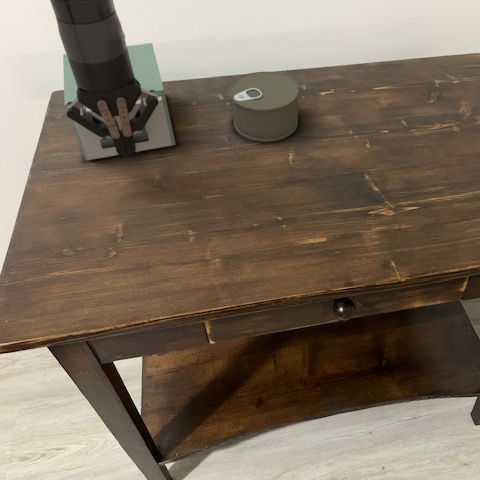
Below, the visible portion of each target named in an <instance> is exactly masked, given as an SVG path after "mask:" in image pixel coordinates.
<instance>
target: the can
mask: <svg viewBox="0 0 480 480" xmlns="http://www.w3.org/2000/svg"><path fill="white" fill-rule="evenodd" d="M228 94H229V98H230V101H231V111H232V117H233V127H234V129H235V131H236V132H237V133H238V134H239V135H240V136H241V137H243V138H244V139H247V140H250V141H253V142H259V143H271V142H277V141H280V140H283V139H285V138H287V137H289V136H291V135H292V134H293V133H295V131H296V130H297V127H298V125H299V119H298V118H299V109H298V108H299V94H300V89H299V85H298V83H297V82H296V81H295V80H294V79H293V78H292V77H290V76H288V75H286V74H283V73H279V72H275V71H255V72H250V73H246V74H243V75H241V76H240V77H238V78H236V79H235V80H234V81H233V82H232V83H231V84H230V86H229V90H228Z"/></svg>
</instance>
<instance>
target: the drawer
mask: <svg viewBox="0 0 480 480" xmlns="http://www.w3.org/2000/svg"><path fill="white" fill-rule="evenodd" d="M158 102H159V103H158V105H157V107H156V108H155V110H154V112H153V113H152V115H151V117H150V118H149V120H148V122H147V123H146V125H145V126H144V128H143V130H142V131H135V132H134V133H133V138H134V141H135V146H136V151H138V152H142V150H144V151H149V150H148V149H150V150H154V148H155V149H160V148H159V147H161V148H166V147H165V146H167V147H172V146H173V145H172V142H171V138H170V133H169V129H168V124H167V120H166V115H165V111H164V106H163V102H162V97H161V96H158ZM140 105H141V101H140V99H138V100H137V102H136V104H135V106H134V108H133V109H132V111H131V112H130V113H128V114H129V120H131V119H133V117H134V115H135V114H136V112H137V110H138V108H139V107H140ZM86 111H88V112H89V113H91V114H92V115H94V116H95V117H97V118H98V119H100V120H101V121H103V122H104V119H103V117H101V116H99V115H97V114H96V113H94V112H93V111H91V110H90V109H88V108H87V107H86ZM115 118H116V120H117V123H118V125H119V130H121V129H122V126H121V121H120V116H115ZM104 123H105V122H104ZM74 124H75V126H76V129H77V131H78V134H79V137H80V139H81V142H82V145H83V147H84V150H85V153H86V155H87V158H88V160H87V161H92V160H91V159H93V160H97V159H96V158H98V159H103V158H102V157H104V158H109V157H108V156H110V157H114V155H115V156H120V155H119V154H118V153H117V151H116V148H115V145H114V142H113V139H112V138H111V137H110V136H104V137H99V136H97V135H96V134H94V133H93V132H91V131H89V130H88V129H86V128H85V127H83V126H81V125H80V124H78V123H77V122H75V121H74ZM121 131H122V130H121ZM171 145H172V146H171ZM136 151H135V152H134V153H137V152H136Z"/></svg>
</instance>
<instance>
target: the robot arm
mask: <svg viewBox="0 0 480 480" xmlns="http://www.w3.org/2000/svg"><path fill="white" fill-rule="evenodd" d="M49 1H50V4H51V7H52V10H53V13H54V15H55V19H56V24H57V28H58V29H57V30H58V33H59V37H60V40H61V43H62V47H63V50H64V52H65V54H66V55H67V58H68V61H69V63H70V66H71V69H72V72H73V75H74V78H75V81H76V84H77V87H78V89H77V98H76V99H75V100H74V101H73V102H68V103H67V110H66V116H67V118H68V119H69V120H70V119H72V120H73V121H75V122H77V123H78V124H80V125H81V126H83V127H85V128H86V129H88V130H89V131H91V132H93V133H94V134H96V135H97V136H99V137H104V136H110V137H111V138H112V139H113V142H114V145H115V148H116V151H117V153H118V154H121V156H122V157H123V158H127V157H133V156H134V153H136V152H135V151H136V146H135V141H134V138H133V133H134V132H135V131H142V130H143V128H144V126H145V125H146V123H147V122H148V120H149V118H150V117H151V115H152V113H153V112H154V110H155V108H156V107H157V105H158V103H159V102H158V97H157V93H156V91H155V90H150V91H148V90H145V89H143V88H141V85H140V83H139V82H138V81H137V80H136V78H135V76H134V73H133V69H132V65H131V61H130V57H129V53H128V49H127V46H128V45H127V42H126V35H125V32H124V30H123V26H122V23H121V20H120V19H119V16H118V13H117V10H116V7H115V3H114V0H49ZM139 96H140V97H141V98H140V101H141V105H140V107H139V108H138V110H137V112H136V114H135V115H134V117H133V119H131V120H129V114H128V113H130V112H131V111H132V109H133V108H134V106H135V104H136V102H137V100H138V98H139ZM85 106H86V107H87V108H88V109H90V110H91V111H93V112H94V113H96V114H97V115H99V116H101V117H103V119H104V122H105V123H104V122H103V121H101V120H100V119H98V118H97V117H95V116H94V115H92V114H91V113H89V112H88V111H86V107H85ZM115 116H120V121H121V126H122V129H121V130H122V131H121V130H119V125H118V123H117V120H116V118H115Z"/></svg>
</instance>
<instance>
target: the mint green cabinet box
mask: <svg viewBox="0 0 480 480" xmlns="http://www.w3.org/2000/svg"><path fill="white" fill-rule="evenodd" d="M127 49H128V53H129V57H130V61H131V65H132V69H133V73H134V76H135V78H136V80H137V81H138V82H139V83H140V85H141V88H143V89H145V90H148V91H150V90H155V91H156V93H157V97H158V96H161V97H162V102H163V106H164V111H165V115H166V120H167V124H168V129H169V133H170V138H171V142H172V145H171V146H170V147H172V146H176V139H175V135H174V129H173V127H172V122H171V117H170V111H169V107H168V103H167V98H166V94H165V88H164V85H163V81H162V77H161V74H160V69H159V65H158V62H157V58H156V53H155V50H154V46H153V43H152V42H149V43H142V44H141V43H140V44H135V45H133V44H132V45H127ZM62 63H63V66H62V67H63V97H64V98H63V99H64V100H63V101H64V107H65V110H66V111H67V103H68V102H73V101H74V100H75V99H76V98H77V89H78V87H77V84H76V81H75V78H74V75H73V72H72V69H71V66H70V63H69V61H68V58H67V55H66V53H65V54H62ZM140 98H141V97H140V96H139V98H138V99H140ZM85 107H86V106H85ZM69 121H70V123H71V126H72V128H73V131H74V133H75V137H76V139H77V141H78V144H79V147H80V149H81V152H82V154H83V158H84V160H85V161H86V162H87V161H89V160H88V158H87V155H86V153H85V150H84V147H83V145H82V142H81V139H80V137H79V134H78V131H77V129H76V126H75V124H74V121H73V120H72V119H70V118H69ZM166 147H167V148H168V146H165V147H164V148H166ZM161 148H162V147H159V148H158V149H161ZM154 149H156V148H154ZM154 149H153V150H154ZM149 150H151V149H148V150H147V151H149ZM142 151H145V150H142ZM142 151H141V152H142ZM138 152H139V151H136V152H135V153H138ZM120 155H121V156H122V154H119V155H118V156H120ZM114 156H116V155H114ZM114 156H113V157H114ZM109 157H111V156H108V157H107V158H109ZM103 158H105V157H102V158H101V159H103ZM92 160H94V159H91V160H90V161H92ZM95 160H99V158H96V159H95Z"/></svg>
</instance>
